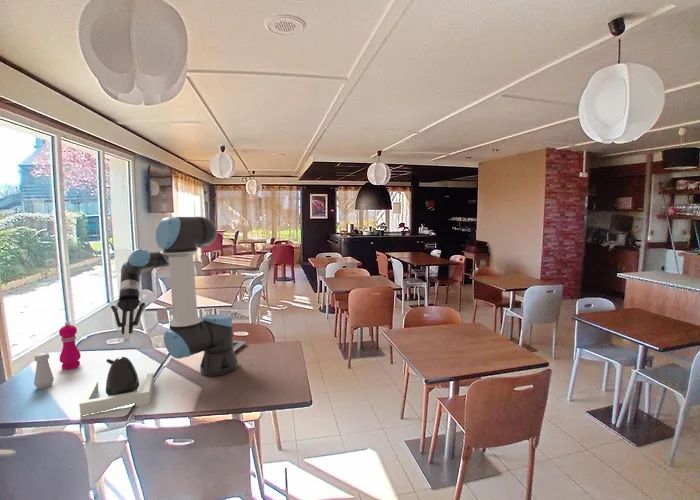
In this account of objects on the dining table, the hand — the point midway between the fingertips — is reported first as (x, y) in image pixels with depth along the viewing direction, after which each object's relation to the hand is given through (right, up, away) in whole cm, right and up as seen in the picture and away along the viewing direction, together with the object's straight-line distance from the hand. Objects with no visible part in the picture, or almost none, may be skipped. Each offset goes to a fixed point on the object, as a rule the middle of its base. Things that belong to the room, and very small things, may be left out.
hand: (126, 340), depth 149 cm
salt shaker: (-26, -16, -9) cm, 32 cm away
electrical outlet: (+33, -12, +30) cm, 46 cm away
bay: (+8, -16, -17) cm, 25 cm away
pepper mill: (-29, -14, +8) cm, 33 cm away
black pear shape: (+9, -17, -17) cm, 26 cm away
